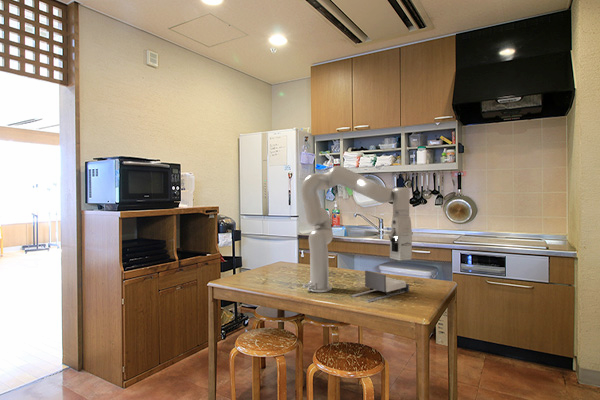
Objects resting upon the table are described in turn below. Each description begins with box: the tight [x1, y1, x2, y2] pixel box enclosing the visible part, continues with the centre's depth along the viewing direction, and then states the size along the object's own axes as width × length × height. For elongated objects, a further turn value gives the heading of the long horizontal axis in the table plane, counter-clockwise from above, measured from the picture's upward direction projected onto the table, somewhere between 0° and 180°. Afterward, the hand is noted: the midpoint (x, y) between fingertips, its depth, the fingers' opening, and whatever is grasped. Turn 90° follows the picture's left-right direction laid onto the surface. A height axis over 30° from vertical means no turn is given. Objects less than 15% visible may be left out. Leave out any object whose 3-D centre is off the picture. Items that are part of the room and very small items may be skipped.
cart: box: [364, 270, 407, 295], centre depth 176 cm, size 15×14×10 cm
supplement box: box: [389, 233, 413, 262], centre depth 168 cm, size 7×7×13 cm
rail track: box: [350, 283, 410, 303], centre depth 174 cm, size 28×14×4 cm, turn 127°
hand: (400, 250), depth 168 cm, fingers closed on supplement box, 7 cm apart
